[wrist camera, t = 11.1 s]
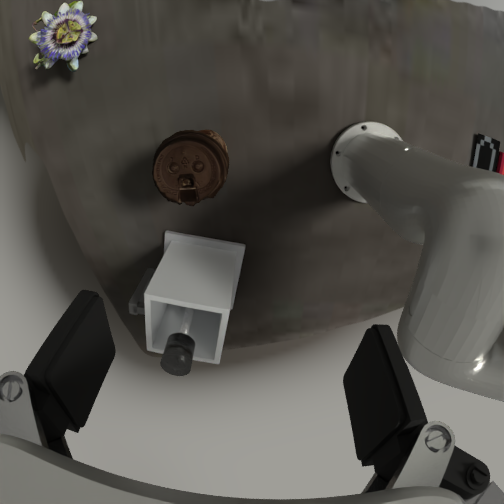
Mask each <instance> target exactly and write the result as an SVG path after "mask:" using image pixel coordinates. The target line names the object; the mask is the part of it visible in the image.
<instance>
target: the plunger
mask: <svg viewBox="0 0 504 504" xmlns="http://www.w3.org/2000/svg"><path fill="white" fill-rule="evenodd" d="M194 310H195V309H194V308H188V307H186V311H185V314H184V318H183V321H182V325H181V328H180V332H179V333H173V334H171V335H170V336H169V337H168V340H167V343H166V346H165V349H164V353H163V356H162V359H161V367H162V368H163V369H164V370H165V371H166V372H168V373H169V374H172V375H176V376H183V375H187V374H188V373H189V372H190V369H191V364H192V359H193V355H194V350H195V341H194V340H193V339H192V338H191V337H190V336H189V335H188V334H189V330H190V326H191V322H192V318H193V314H194Z"/></svg>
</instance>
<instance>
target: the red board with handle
mask: <svg viewBox="0 0 504 504" xmlns="http://www.w3.org/2000/svg"><path fill="white" fill-rule="evenodd" d="M499 147H500V141H497V140H495V139H492V138H489V137H487V136H484V135H481V134H479V133H478V140H477V147H476V153H475V158H474V164H473V167H475V168H480V169H484V170H488V171H492V172H495V169H496V164H497V158H498V153H499ZM496 173H499V174H502V175H504V153H503V152H500V154H499V160H498V165H497V170H496Z"/></svg>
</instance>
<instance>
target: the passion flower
mask: <svg viewBox="0 0 504 504" xmlns="http://www.w3.org/2000/svg"><path fill="white" fill-rule="evenodd" d="M82 10H83V2H82V1H79V2H77V1H74V2H72V3H70V4H67V3H63V4H62V5H61V6H60V8H59V10H58V11H57V12H56V13H55V14H54V15H51V14H49V13H48V12H45V11H44V12H43V13H42V17H41V18H40V19H38V20H37V21H35V22H34V23H33V24H32V25H33V28H34V25H36V24H37V23H38V22H39V21H42V22H43V23H44V25H45V26H46V27H47V28H46V27H44V28H45V29H41V32H40V31H38V32H37V30H36V29H35V28H34V29H35V31H36V33H34V34H32V35H31V36H30V37H29V38H28V39H29V40H30V41H31V42H33V43H35V44H37V45H38V47H39V49H40V55H43V58H42V59H38V58H39V53H38V54H37V55H36V57H35V58H34V61H33V63H34V64H37V67H36V68H35V69H38V68H39V67H40V66H45V69H46V70H47V69H50V68H51V67H52V66H53V65H54V63H55V62H56V61H57V60H58V59H63V60H65V61H66V62H67V67H68V68H69V70H70V71H73V72H75V71H76V70H77V69H78V57H79V55H80V54H86V53H88V52H89V50H88V48H87V44H88V43H89V42H93V41H96V40H97V36H96V34H95V33H93V32H91V30H92V29H90V27H91V25H92V24H94V23H95V21H96V20H97V17H95V16H87V13H86V14H84V13H83V12H82ZM88 15H89V14H88ZM42 61H43V62H42Z"/></svg>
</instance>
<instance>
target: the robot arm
mask: <svg viewBox="0 0 504 504" xmlns="http://www.w3.org/2000/svg"><path fill="white" fill-rule="evenodd" d="M361 126H363V129H361ZM394 137H395V138H394ZM336 151H338V154H336ZM330 166H331V172H332V176H333V178H334V180H335V183H336V184H337V185H338V187H339V188H340V190H341V191H342V192H343V193H344V194H346V195H347V196H348V197H349V198H351V199H353V200H355V201H358V202H362V203H368V204H369V205H370V206H371V207H372V208H373V209H374V210H375V211H376V212H377V213H378V214H379V215H380V216H381V217H382V218H383V219H384V221H385V222H386V223H387V224H388V225H389V226H390V227H391V228H392V229H393V230H394V231H395V232H396V233H397V234H398V235H399V236H400V237H402V238H403V239H405V240H407V241H409V242H412V243H416V244H424V245H423V249H422V253H421V257H420V260H419V263H418V269H417V272H416V275H415V278H414V281H413V284H412V287H411V289H410V292H409V295H408V298H407V301H406V303H405V306H404V309H403V312H402V315H401V318H400V321H399V325H398V330H397V341H398V344H397V341H396V339H395V337H394V334H393V332H392V330H391V328H390V326H388V325H376V324H375V325H373V326H372V327H371V328H369V329H367V330H366V332H365V334H364V337H363V339H362V341H361V343H360V345H359V347H358V349H357V351H356V353H355V355H354V357H353V359H352V361H351V363H350V365H349V367H348V369H347V371H346V372H345V374H344V378H343V384H344V389H345V395H346V399H347V404H348V410H349V415H350V420H351V425H352V431H353V437H354V443H355V449H356V454H357V458H358V460H361V462H362V466H370V465H374V469H375V473H374V475H373V477H372V478H371V480H370V481H369V483H368V484H367V486H366V487H365V489H364V490H363V492H362V493H361V494H355V495H347V496H337V497H327V498H314V499H289V500H288V499H287V500H275V499H274V500H273V499H246V498H245V499H244V498H232V497H222V496H213V495H205V494H198V493H192V492H186V491H180V490H175V489H169V488H165V487H160V486H156V485H152V484H148V483H144V482H140V481H136V480H132V479H129V478H125V477H122V476H118V475H115V474H112V473H109V472H106V471H103V470H100V469H97V468H95V467H92V466H89V465H86V464H84V463H81V462H78V461H76V460H73V458H72V455H71V453H70V451H69V448H68V445H67V442H66V439H65V436H64V434H65V432H66V429H69V430H71V431H74V432H77V433H78V432H79V429H80V427H84V425H85V423H86V421H87V419H88V416H89V414H90V412H91V409H92V407H93V404H94V402H95V399H96V397H97V395H98V393H99V390H100V388H101V386H102V383H103V381H104V379H105V376H106V374H107V372H108V370H109V368H110V365H111V363H112V361H113V359H114V356H115V345H114V342H113V338H112V335H111V331H110V327H109V324H108V320H107V316H106V312H105V307H104V303H103V299H102V298H101V297H99V294H98V293H97V292H93V291H88V290H82V291H80V293H79V294H78V295H77V297H76V298H75V299H74V301H73V302H72V303H71V305H70V306H69V307H68V309H67V310H66V312H65V313H64V314H63V316H62V317H61V319H60V320H59V321H58V323H57V324H56V326H55V327H54V328H53V330H52V331H51V333H50V334H49V336H48V337H47V339H46V340H45V342H44V343H43V345H42V346H41V348H40V349H39V351H38V352H37V354H36V356H35V357H34V359H33V360H32V362H31V363H30V365H29V366H28V368H27V370H26V372H25V374H24V376H23V375H22V374H21V373H19V372H16V371H10V372H6V373H4V374H3V375H1V376H0V504H504V493H503V492H502V490H501V489H500V488H499V487H498V486H497V485H496V484H495V483H494V482H493V481H492V482H491V483H490V482H489V481H490V473H489V469H488V468H487V466H486V465H485V464H484V463H483V462H481V461H480V460H478V459H476V458H475V457H473V456H471V455H470V454H468V453H466V452H464V451H463V450H461V449H459V448H458V447H456V446H454V444H455V437H454V434H453V432H452V430H451V429H450V427H449V426H447V425H446V424H445V423H442V422H440V421H432V422H429V423H428V421H427V418H426V415H425V412H424V409H423V406H422V404H421V401H420V398H419V395H418V393H417V390H416V387H415V385H414V382H413V380H412V377H411V374H410V372H409V369H408V367H407V365H406V363H405V361H404V359H403V357H404V358H405V360H406V361H407V362H408V363H409V364H410V365H411V366H412V367H413V368H414V369H416V370H417V371H418V372H420V373H422V374H423V375H425V376H427V377H429V378H431V379H433V380H435V381H438V382H440V383H443V384H446V385H449V386H452V387H455V388H458V389H461V390H465V391H468V392H472V393H475V394H478V395H481V396H485V397H488V398H492V399H495V400H499V401H503V402H504V175H502V174H499V173H496V172H492V171H488V170H484V169H480V168H475V167H470V166H467V165H463V164H460V163H457V162H454V161H451V160H448V159H446V158H443V157H441V156H438V155H436V154H434V153H431V152H429V151H426V150H424V149H421V148H419V147H416V146H414V145H411V144H408V143H406V142H403V141H402V139H401V137H400V136H399V135H398V134H397V133H396V132H395V131H394V130H393V129H391V128H390V127H388V126H386V125H384V124H382V123H378V122H372V121H365V122H360V123H356V124H354V125H352V126H350V127H348V128H347V129H346V130H344V131H343V132H342V133H341V134H340V136H339V137H338V138H337V140H336V142H335V144H334V145H333V149H332V152H331V158H330ZM345 186H347V187H346V188H344V187H345ZM402 355H403V356H402Z"/></svg>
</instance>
